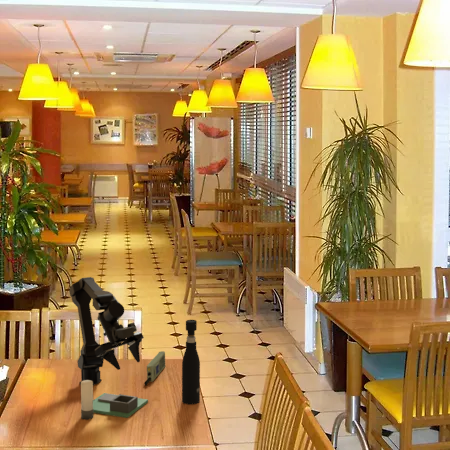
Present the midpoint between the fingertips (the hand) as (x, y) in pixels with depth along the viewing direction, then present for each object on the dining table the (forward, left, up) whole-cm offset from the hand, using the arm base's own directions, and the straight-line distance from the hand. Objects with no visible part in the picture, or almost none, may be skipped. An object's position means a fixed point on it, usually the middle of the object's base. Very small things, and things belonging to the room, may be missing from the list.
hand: (129, 365), depth 271 cm
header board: (-4, -3, -15) cm, 15 cm away
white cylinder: (-8, -16, -15) cm, 23 cm away
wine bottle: (+19, +11, -15) cm, 27 cm away
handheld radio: (-6, +32, -15) cm, 36 cm away
